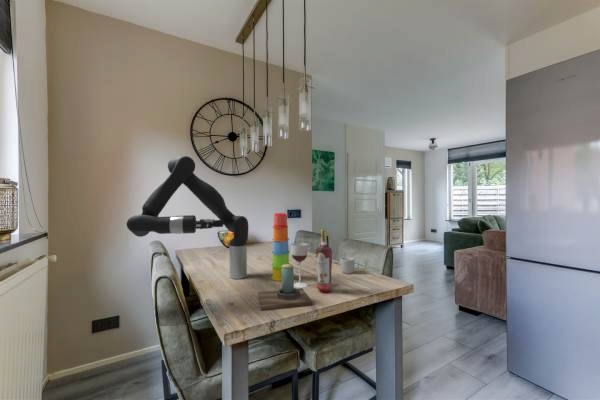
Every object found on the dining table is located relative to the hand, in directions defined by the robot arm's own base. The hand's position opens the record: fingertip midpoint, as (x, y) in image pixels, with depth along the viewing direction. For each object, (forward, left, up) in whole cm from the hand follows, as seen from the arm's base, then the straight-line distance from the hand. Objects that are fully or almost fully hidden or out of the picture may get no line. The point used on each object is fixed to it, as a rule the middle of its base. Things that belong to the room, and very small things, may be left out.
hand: (223, 223), depth 115 cm
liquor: (+4, +44, -32) cm, 55 cm away
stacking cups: (-21, +28, -32) cm, 48 cm away
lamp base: (+10, +24, -32) cm, 41 cm away
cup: (-20, +67, -32) cm, 77 cm away
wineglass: (-7, +35, -32) cm, 48 cm away
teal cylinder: (+10, +26, -31) cm, 41 cm away
